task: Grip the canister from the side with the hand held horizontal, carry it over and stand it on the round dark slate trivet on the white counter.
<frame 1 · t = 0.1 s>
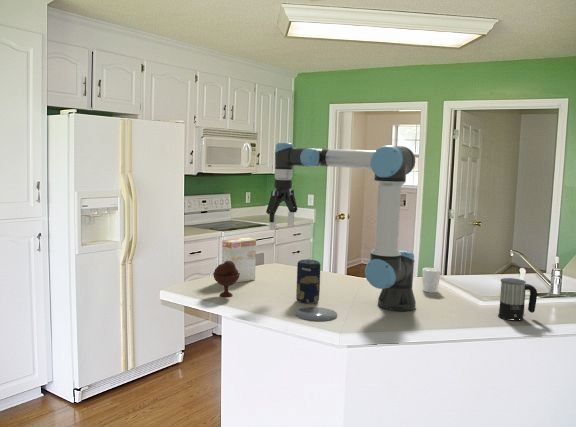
hand: (281, 228, 236), 28 cm above the countertop, tool pointing down, fingers open, 13 cm apart
milk frother: (509, 315, 217), on the countertop
ice cream bowl: (226, 295, 230), on the countertop
canister: (307, 302, 225), on the countertop
coffeecake box: (238, 280, 257), on the countertop
white cup: (430, 291, 250), on the countertop
trivet: (316, 314, 207), on the countertop
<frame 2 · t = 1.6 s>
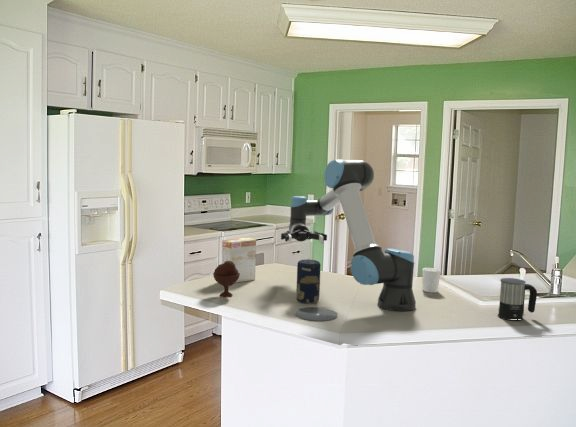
hand: (306, 240, 231), 24 cm above the countertop, tool horizontal, fingers open, 13 cm apart
nothing on the countertop moved.
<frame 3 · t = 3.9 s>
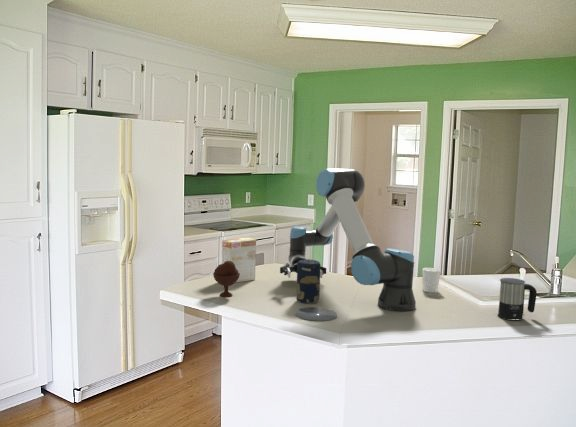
hand: (305, 274, 230), 10 cm above the countertop, tool horizontal, fingers open, 13 cm apart
nothing on the countertop moved.
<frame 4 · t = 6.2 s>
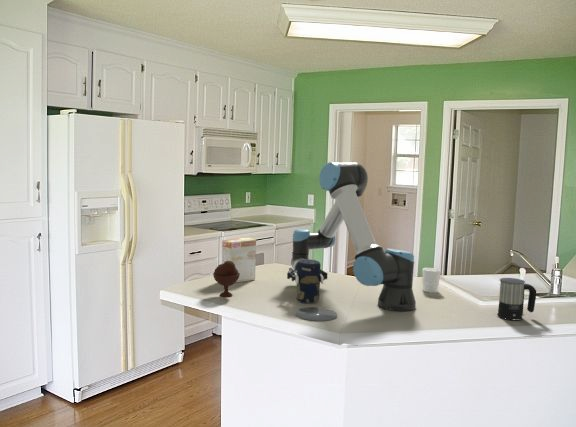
hand: (310, 280, 219), 10 cm above the countertop, tool horizontal, fingers closed on canister, 9 cm apart
canister: (307, 302, 225), on the countertop, touching gripper
everything else where it was.
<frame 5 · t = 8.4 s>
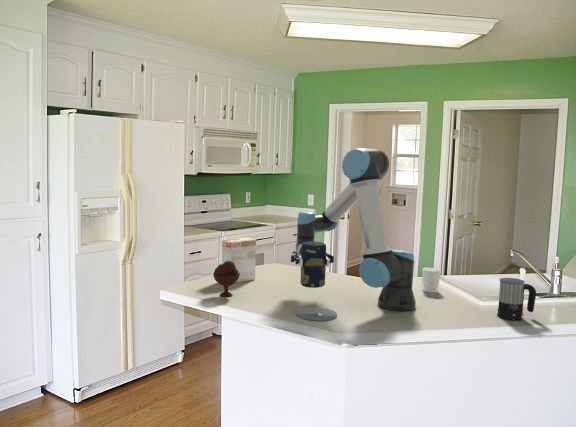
hand: (315, 263, 205), 20 cm above the countertop, tool horizontal, fingers closed on canister, 9 cm apart
canister: (312, 286, 211), point 10 cm above the countertop, touching gripper
everything else where it was.
when the fingers open (12 cm above the countertop, at t = 10.8 s): canister stays where it is, resting on trivet.
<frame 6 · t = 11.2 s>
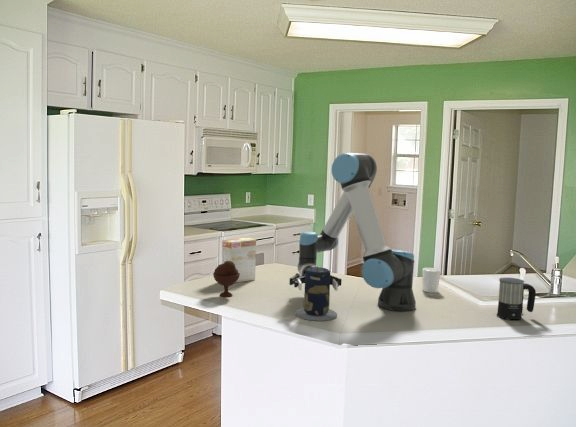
hand: (318, 287, 203), 12 cm above the countertop, tool horizontal, fingers open, 13 cm apart
canister: (316, 313, 207), resting on trivet
everything else where it was.
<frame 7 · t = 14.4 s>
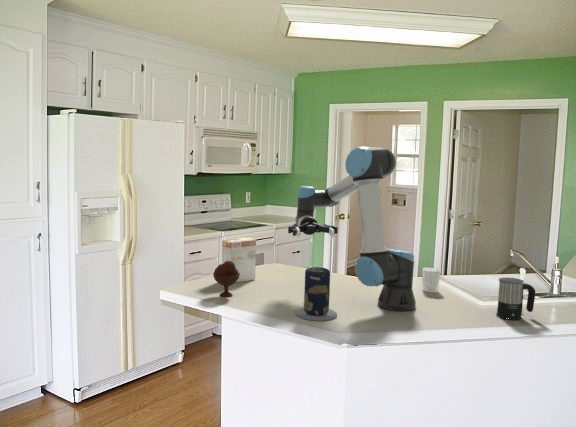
hand: (316, 233, 214), 30 cm above the countertop, tool horizontal, fingers open, 13 cm apart
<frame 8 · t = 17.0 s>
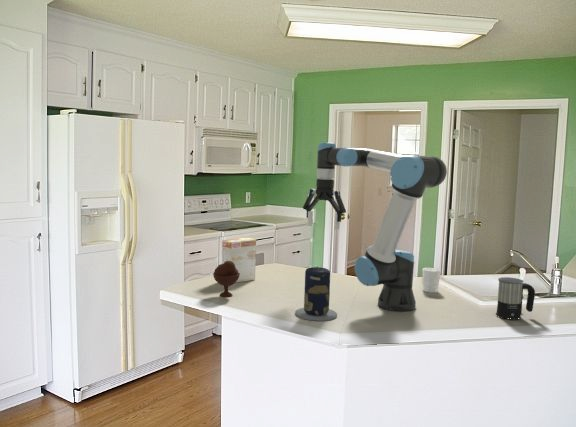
hand: (323, 227, 238), 29 cm above the countertop, tool pointing down, fingers open, 13 cm apart
at the end: canister 0.1 cm from the trivet (horizontally); canister tilted 0°; the gripper is holding nothing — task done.
